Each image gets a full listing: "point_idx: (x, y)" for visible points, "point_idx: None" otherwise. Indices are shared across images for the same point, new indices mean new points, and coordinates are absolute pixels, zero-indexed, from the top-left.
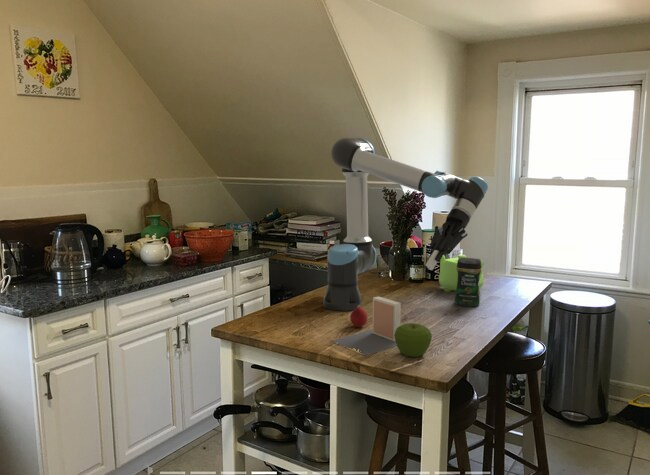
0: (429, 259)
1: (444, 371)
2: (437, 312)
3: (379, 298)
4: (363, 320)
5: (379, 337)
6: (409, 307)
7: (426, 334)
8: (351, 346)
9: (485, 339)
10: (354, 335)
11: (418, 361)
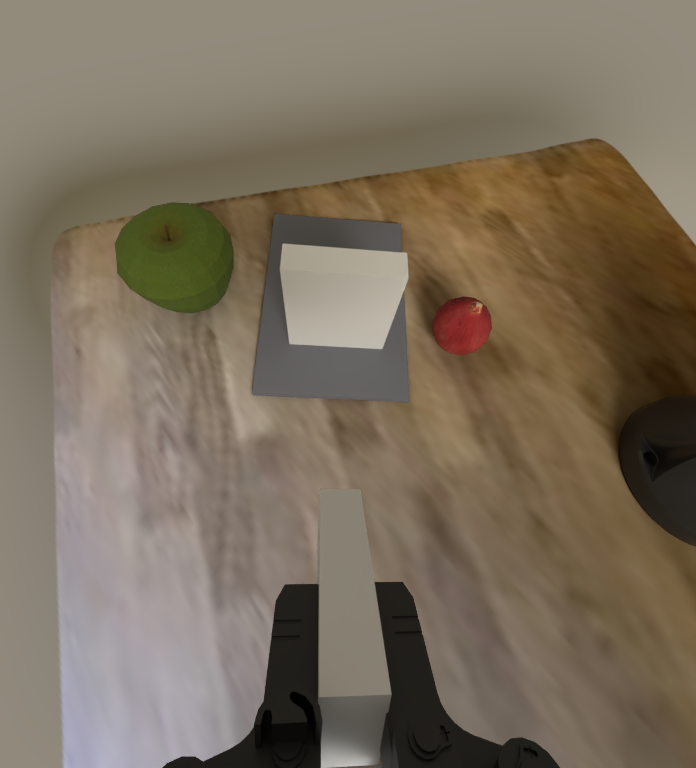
0: (357, 537)
1: (77, 273)
2: None
3: (383, 261)
4: (433, 321)
5: None
6: (560, 697)
7: (116, 240)
8: (340, 232)
9: (72, 586)
10: None
11: None
